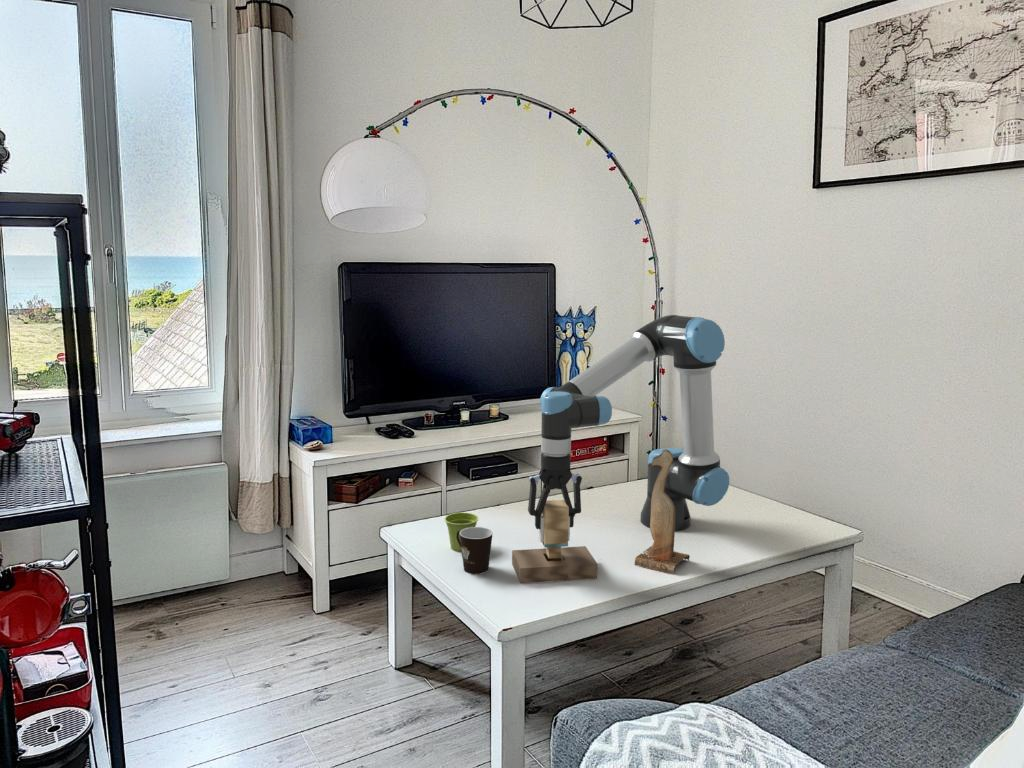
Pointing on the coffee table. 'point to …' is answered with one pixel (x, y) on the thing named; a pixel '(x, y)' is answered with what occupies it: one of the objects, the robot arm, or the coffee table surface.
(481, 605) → the coffee table surface
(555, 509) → the oak peg
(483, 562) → the coffee mug
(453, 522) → the plant pot
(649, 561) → the bird sculpture
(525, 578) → the walnut board
